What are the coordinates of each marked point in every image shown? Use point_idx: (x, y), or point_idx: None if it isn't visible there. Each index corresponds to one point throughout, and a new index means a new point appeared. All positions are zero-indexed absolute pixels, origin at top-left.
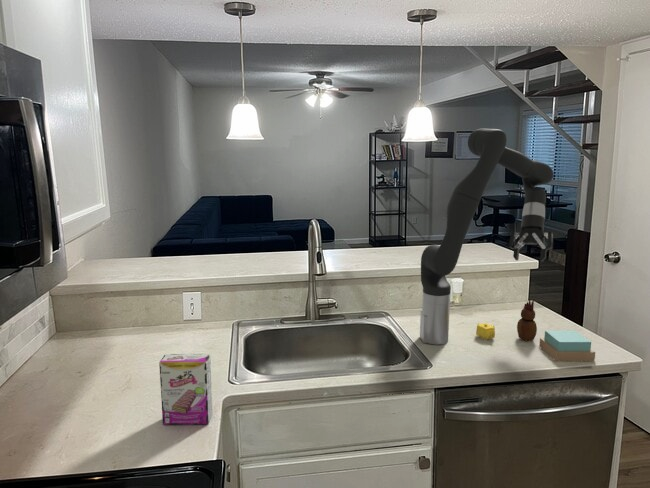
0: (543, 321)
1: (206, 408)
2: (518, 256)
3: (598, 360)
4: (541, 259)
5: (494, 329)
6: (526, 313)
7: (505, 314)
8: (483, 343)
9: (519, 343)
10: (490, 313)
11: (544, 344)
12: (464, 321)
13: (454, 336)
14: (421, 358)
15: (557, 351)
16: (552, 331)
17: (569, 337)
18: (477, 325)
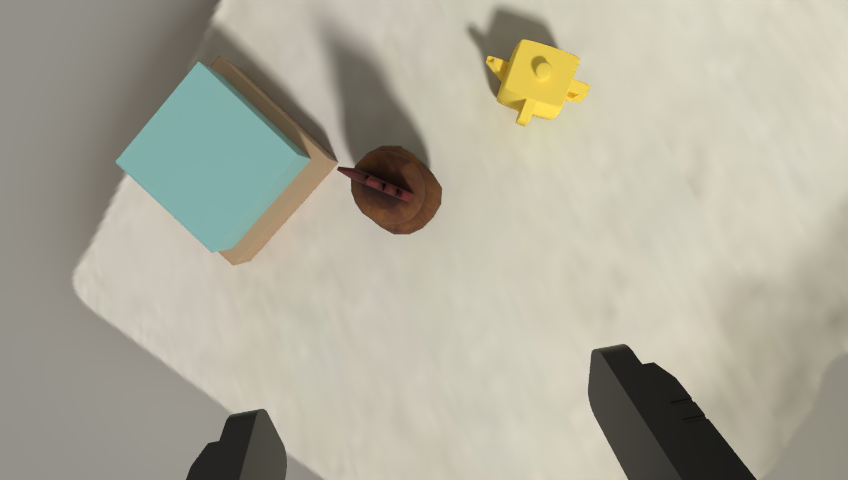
0: (444, 451)
1: None
2: (617, 448)
3: None
4: (245, 413)
5: (502, 89)
6: (380, 152)
7: None
8: (505, 26)
9: (404, 136)
10: None
11: (300, 130)
12: (697, 207)
13: (633, 4)
14: None
15: (222, 66)
16: (270, 167)
17: (193, 147)
18: (577, 57)
